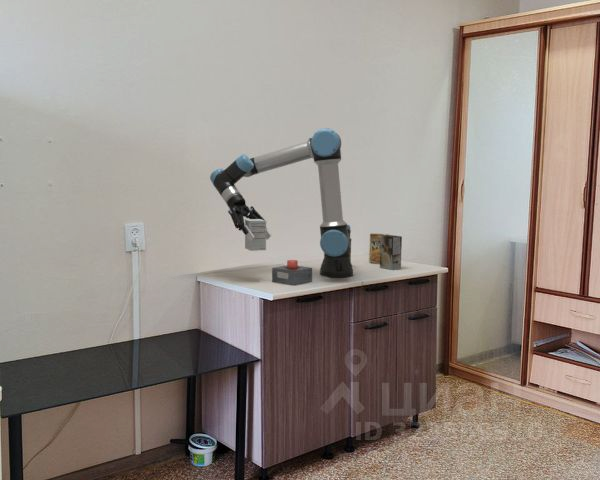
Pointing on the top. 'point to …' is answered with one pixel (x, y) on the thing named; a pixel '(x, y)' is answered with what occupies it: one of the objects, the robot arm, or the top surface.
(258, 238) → the supplement box
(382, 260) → the coffee box
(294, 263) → the button
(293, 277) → the grey button housing
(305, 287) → the top surface
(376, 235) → the candy box
